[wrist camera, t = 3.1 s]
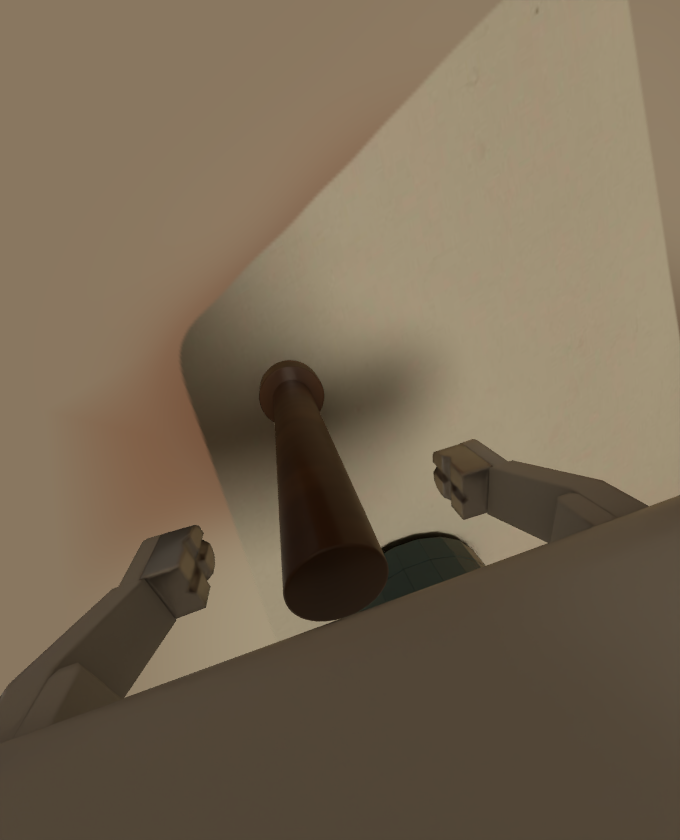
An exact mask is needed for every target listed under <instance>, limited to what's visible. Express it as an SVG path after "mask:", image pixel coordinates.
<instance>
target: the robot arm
mask: <svg viewBox="0 0 680 840" xmlns="http://www.w3.org/2000/svg"><path fill="white" fill-rule="evenodd" d="M433 463H434V464H435V465H436V466H437V467H436V469H435V471H434V481H435V483H436V486H437V488H438V490H439V492H440V493H441V494H442V496H443V497H444V498H447V499H449V500H451V506H452V507H453V508H454V510H455V511H456V512H457V513H458V514H459V515H460V517H461V518H462V519H463V520H465V519H468V518H471V517H474V516H478V515H481V514H484V513H487V514H489V515H491V516H493V517H495V518H497V519H499V520H501V521H504V522H506V523H508V524H510V525H512V526H514V527H516V528H518V529H520V530H522V531H525V532H527V533H529V534H531V535H533V536H535V537H537V538H539V539H541V540H543V541H545V542H548V543H547V544H545V545H542V546H539V547H536V548H534V549H531V550H528V551H525V552H523V553H520V554H517V555H515V556H512V557H509V558H506V559H504V560H501V561H498V562H495V563H493V564H490V565H487V566H484V567H482V568H479V569H476V570H473V571H471V572H468V573H465V574H463V575H460V576H457V577H454V578H452V579H449V580H446V581H443V582H441V583H438V584H435V585H433V586H430V587H427V588H424V589H422V590H419V591H416V592H413V593H411V594H408V595H405V596H402V597H400V598H397V599H394V600H392V601H389V602H386V603H383V604H381V605H378V606H375V607H372V608H370V609H367V610H364V611H361V612H359V613H356V614H353V615H350V616H348V617H345V618H342V619H339V620H337V621H334V622H331V623H328V624H326V625H323V626H320V627H317V628H315V629H312V630H309V631H307V632H304V633H301V634H298V635H296V636H293V637H290V638H287V639H285V640H282V641H279V642H276V643H274V644H271V645H268V646H265V647H263V648H260V649H257V650H255V651H252V652H249V653H246V654H244V655H241V656H238V657H235V658H233V659H230V660H227V661H224V662H222V663H219V664H216V665H214V666H211V667H208V668H205V669H202V670H200V671H197V672H194V673H192V674H189V675H186V676H183V677H181V678H178V679H175V680H172V681H170V682H167V683H164V684H161V685H159V686H156V687H153V688H150V689H148V690H145V691H142V692H140V693H137V694H134V695H131V696H129V697H126V698H124V697H125V696H126V694H127V693H128V691H129V690H130V688H131V687H132V685H133V684H134V682H135V681H136V679H137V678H138V676H139V675H140V673H141V672H142V671H143V669H144V668H145V666H146V664H147V663H148V661H149V660H150V658H151V657H152V656H153V654H154V653H155V651H156V649H157V648H158V647H159V645H160V644H161V642H162V641H163V639H164V638H165V636H166V635H167V633H168V632H169V630H170V629H171V628H172V626H173V625H174V623H175V622H176V619H177V618H179V617H182V616H185V615H187V614H190V613H193V612H195V611H198V610H201V609H203V608H206V604H207V600H208V595H209V590H210V585H209V583H208V582H207V580H208V579H209V578H210V577H211V575H212V574H213V572H214V567H215V557H214V552H213V549H212V547H211V545H210V543H208V542H206V541H204V540H202V537H203V534H204V533H203V531H202V530H201V528H200V527H199V526H197V525H193V526H189V527H186V528H182V529H179V530H175V531H172V532H168V533H165V534H162V535H158V536H155V537H151V538H148V539H146V540H145V541H143V542H142V544H141V546H140V548H139V549H138V551H137V553H136V555H135V557H134V559H133V561H132V563H131V564H130V566H129V568H128V570H127V572H126V574H125V576H124V577H123V580H122V581H121V583H120V585H119V587H117V588H114V589H112V590H111V591H110V592H109V593H107V594H106V595H105V596H104V597H103V598H102V599H101V600H100V601H99V602H98V603H97V604H96V605H94V606H93V607H92V608H91V609H90V610H89V611H88V612H87V613H86V614H85V615H84V616H82V617H81V618H80V619H79V620H78V621H77V622H76V623H75V624H74V625H73V626H72V627H71V628H69V629H68V630H67V631H66V632H65V633H64V634H63V635H62V636H61V637H60V638H59V639H57V640H56V641H55V642H54V643H53V644H52V645H51V646H50V647H49V648H48V649H47V650H45V651H44V652H43V654H41V655H40V656H39V657H38V658H37V659H36V660H35V661H34V662H32V663H31V664H30V665H29V666H28V667H27V668H26V669H25V670H24V671H23V672H22V673H21V674H19V675H18V676H17V677H16V678H15V679H14V680H13V681H12V682H11V683H10V684H9V685H8V686H7V688H6V689H5V690H4V692H3V693H2V695H1V696H0V840H680V495H679V496H676V497H674V498H671V499H668V500H665V501H663V502H660V503H657V504H654V505H652V506H648V505H646V504H644V503H642V502H640V501H639V500H637V499H635V498H633V497H631V496H630V495H628V494H626V493H624V492H622V491H621V490H619V489H617V488H615V487H613V486H611V485H610V484H608V483H606V482H604V481H602V480H598V479H593V478H589V477H585V476H580V475H576V474H571V473H567V472H562V471H558V470H553V469H549V468H544V467H540V466H535V465H531V464H526V463H522V462H517V461H513V460H512V461H509V462H508V461H506V460H505V459H504V458H502V457H501V456H499V455H498V454H496V453H495V452H493V451H492V450H491V449H489V448H488V447H486V446H485V445H483V444H482V443H480V442H479V441H477V440H475V439H471V440H468V441H466V442H463V443H460V444H458V445H455V446H452V447H448V448H445V449H442V450H439V451H435V452H434V453H433Z"/></svg>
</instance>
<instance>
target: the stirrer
mask: <svg viewBox="0 0 680 840" xmlns="http://www.w3.org/2000/svg"><path fill="white" fill-rule="evenodd" d="M259 400H260V405H261V408H262V410H263V412H264V413H265V415H266V416H267V417H268V418H269V419H270V420H271V421H273V422H274V424H275V444H276V463H277V483H278V502H279V522H280V542H281V561H282V581H283V596H284V600H285V603H286V605H287V606H288V608H289V609H290V610H291V611H292V612H293V613H294V614H295V615H297V616H299V617H300V618H303V619H306V620H310V621H332V620H337V619H341V618H344V617H347V616H350V615H352V614H354V613H356V612H358V611H360V610H362V609H363V608H365V607H366V606H368V605H369V604H370V603H371V602H373V601H374V600H375V599H376V598H377V597H378V596H379V594H380V593H381V592H382V590H383V588H384V587H385V585H386V582H387V579H388V572H389V569H388V563H387V560H386V558H385V556H384V553H383V551H382V549H381V547H380V544H379V542H378V540H377V538H376V536H375V533H374V531H373V529H372V527H371V525H370V522H369V520H368V518H367V516H366V513H365V511H364V509H363V507H362V505H361V502H360V500H359V498H358V496H357V494H356V491H355V489H354V487H353V485H352V482H351V480H350V478H349V476H348V474H347V471H346V469H345V467H344V465H343V462H342V460H341V458H340V456H339V454H338V451H337V449H336V447H335V445H334V443H333V440H332V438H331V436H330V434H329V431H328V429H327V427H326V425H325V423H324V420H323V418H322V416H321V414H320V410H321V408H322V406H323V402H324V390H323V387H322V384H321V382H320V381H319V379H318V377H317V376H316V374H315V373H314V371H313V370H312V369H311V368H310V367H308V366H307V365H305V364H304V363H301V362H298V361H293V360H287V361H282V362H278V363H276V364H274V365H273V366H271V367H270V368H269V369H268V370H267V371H266V372H265V374H264V375H263V378H262V380H261V384H260V394H259Z"/></svg>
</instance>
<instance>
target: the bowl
mask: <svg viewBox="0 0 680 840" xmlns="http://www.w3.org/2000/svg"><path fill="white" fill-rule="evenodd" d="M384 556H385V558H386V560H387V563H388V569H389V572H388V579H387V582H386V585H385V587H384V588H383V590H382V592H381V593H380V594H379V596H378V597H377V598H376V599H375V600H374V601H373V602H371V603H370V604H369V605H368V606H366V607H365V608H363V609H362V610H360V611H358V612H356V613H359V612H361V611H364V610H367V609H370V608H372V607H375V606H378V605H381V604H383V603H386V602H389V601H392V600H394V599H397V598H400V597H402V596H405V595H408V594H411V593H413V592H416V591H419V590H422V589H424V588H427V587H430V586H433V585H435V584H438V583H441V582H443V581H446V580H449V579H452V578H454V577H457V576H460V575H463V574H465V573H468V572H471V571H473V570H476V569H479V568H482V567H484V566H485V564H484V563H483V562H482V561H481V559H480V558H479V557H478V556H477V555H476V553H475V552H474V551H473V550H472V549H471V548H470V547H468V546H467V545H465V544H464V543H462V542H461V541H459V540H455V539H450V538H445V537H433V538H424V539H418V540H417V539H416V540H414V541H411V542H408V543H405V544H402V545H400V546H397V547H394V548H392V549H390V550H389V551H387V552H386V553H384ZM356 613H354V614H356ZM352 615H353V614H352ZM347 617H348V616H347ZM344 618H345V617H344ZM341 619H342V618H341Z"/></svg>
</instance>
